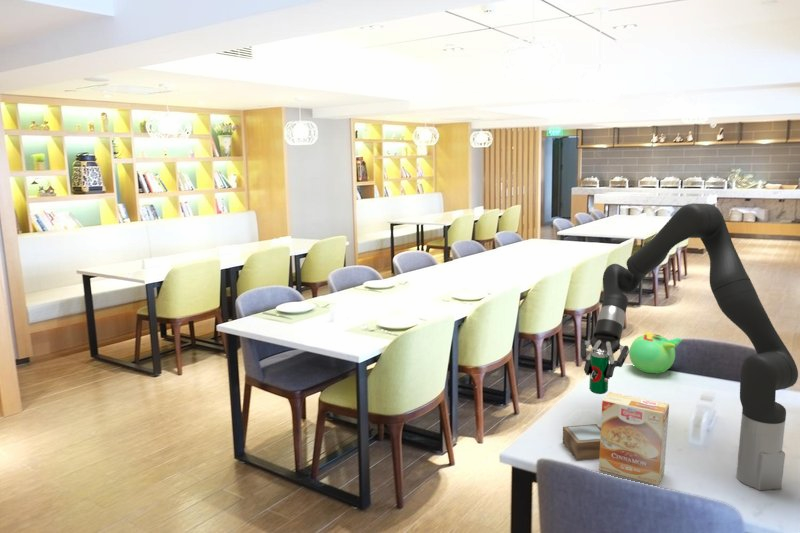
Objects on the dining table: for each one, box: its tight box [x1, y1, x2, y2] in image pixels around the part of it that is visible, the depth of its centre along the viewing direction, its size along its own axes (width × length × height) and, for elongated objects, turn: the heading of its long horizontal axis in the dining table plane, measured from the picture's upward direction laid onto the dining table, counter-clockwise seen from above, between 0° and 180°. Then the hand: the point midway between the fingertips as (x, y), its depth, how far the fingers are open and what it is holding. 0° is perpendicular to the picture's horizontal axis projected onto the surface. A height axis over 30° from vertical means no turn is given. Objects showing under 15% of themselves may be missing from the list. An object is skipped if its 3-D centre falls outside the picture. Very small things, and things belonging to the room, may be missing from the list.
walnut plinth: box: [562, 423, 601, 461], centre depth 170 cm, size 10×10×5 cm
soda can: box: [588, 349, 610, 395], centre depth 174 cm, size 5×5×12 cm
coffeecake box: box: [598, 391, 670, 486], centre depth 156 cm, size 15×7×20 cm, turn 56°
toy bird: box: [628, 331, 683, 374], centre depth 227 cm, size 18×17×15 cm
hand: (597, 375), depth 173 cm, fingers closed on soda can, 5 cm apart
